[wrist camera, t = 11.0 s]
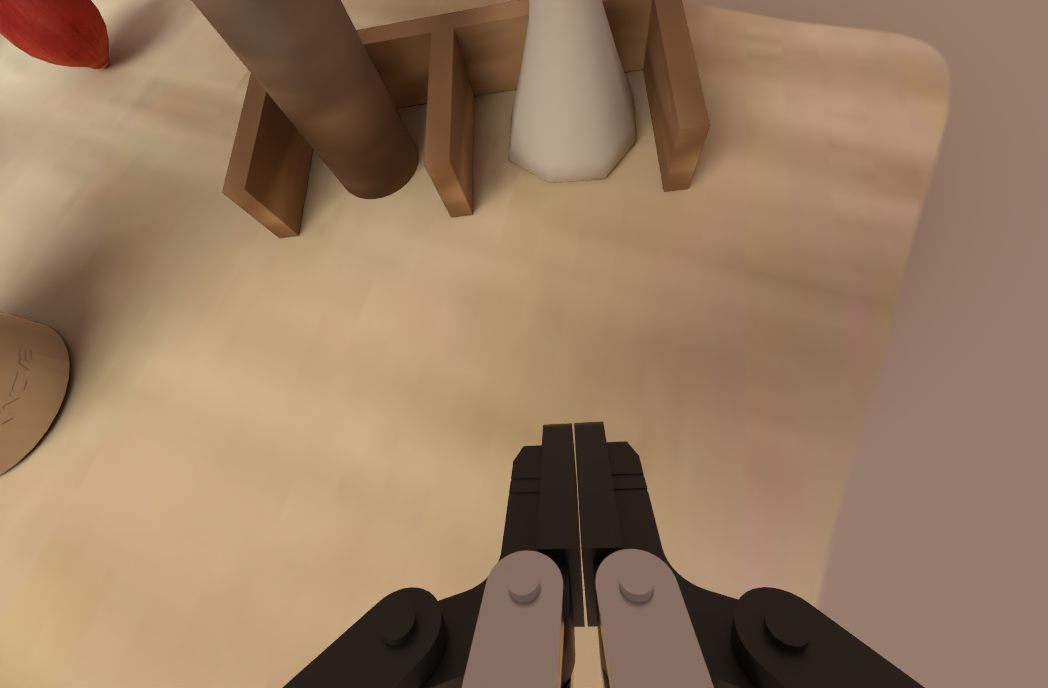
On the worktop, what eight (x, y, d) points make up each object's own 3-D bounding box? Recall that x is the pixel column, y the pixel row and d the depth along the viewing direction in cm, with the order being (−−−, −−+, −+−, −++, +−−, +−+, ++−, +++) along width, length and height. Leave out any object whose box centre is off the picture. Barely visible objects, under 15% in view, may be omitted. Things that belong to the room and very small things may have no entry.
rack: (279, 238, 24) (222, 192, 20) (302, 108, 27) (256, 48, 23) (688, 188, 21) (709, 124, 17) (661, 50, 24) (674, -29, 21)
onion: (60, 71, 33) (-98, -53, 25) (122, 27, 33) (-14, -106, 26) (85, 106, 31) (-78, -16, 23) (150, 59, 31) (12, -75, 24)
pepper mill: (336, 203, 24) (48, -118, 11) (345, 138, 26) (100, -210, 13) (416, 193, 24) (207, -159, 11) (420, 127, 25) (241, -251, 12)
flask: (488, 173, 23) (421, -34, 14) (532, 77, 25) (499, -165, 16) (616, 200, 22) (636, -18, 12) (653, 94, 23) (695, -166, 14)
